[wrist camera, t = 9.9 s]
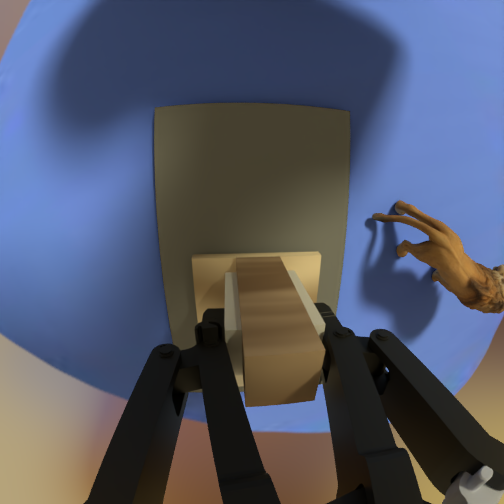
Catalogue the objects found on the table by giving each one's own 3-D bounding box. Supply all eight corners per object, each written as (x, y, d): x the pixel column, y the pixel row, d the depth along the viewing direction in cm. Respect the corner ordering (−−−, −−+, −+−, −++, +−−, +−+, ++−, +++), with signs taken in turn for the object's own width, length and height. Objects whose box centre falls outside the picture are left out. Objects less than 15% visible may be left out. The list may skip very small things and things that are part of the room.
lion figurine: (470, 248, 23) (528, 279, 14) (450, 291, 24) (503, 331, 16) (380, 186, 20) (457, 206, 12) (354, 245, 22) (418, 293, 13)
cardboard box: (193, 254, 19) (161, 356, 9) (318, 251, 20) (392, 339, 10) (199, 325, 21) (186, 440, 11) (310, 320, 22) (358, 424, 12)
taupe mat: (156, 109, 17) (154, 107, 16) (346, 112, 18) (349, 111, 18) (183, 387, 25) (183, 391, 24) (321, 380, 26) (322, 384, 25)
